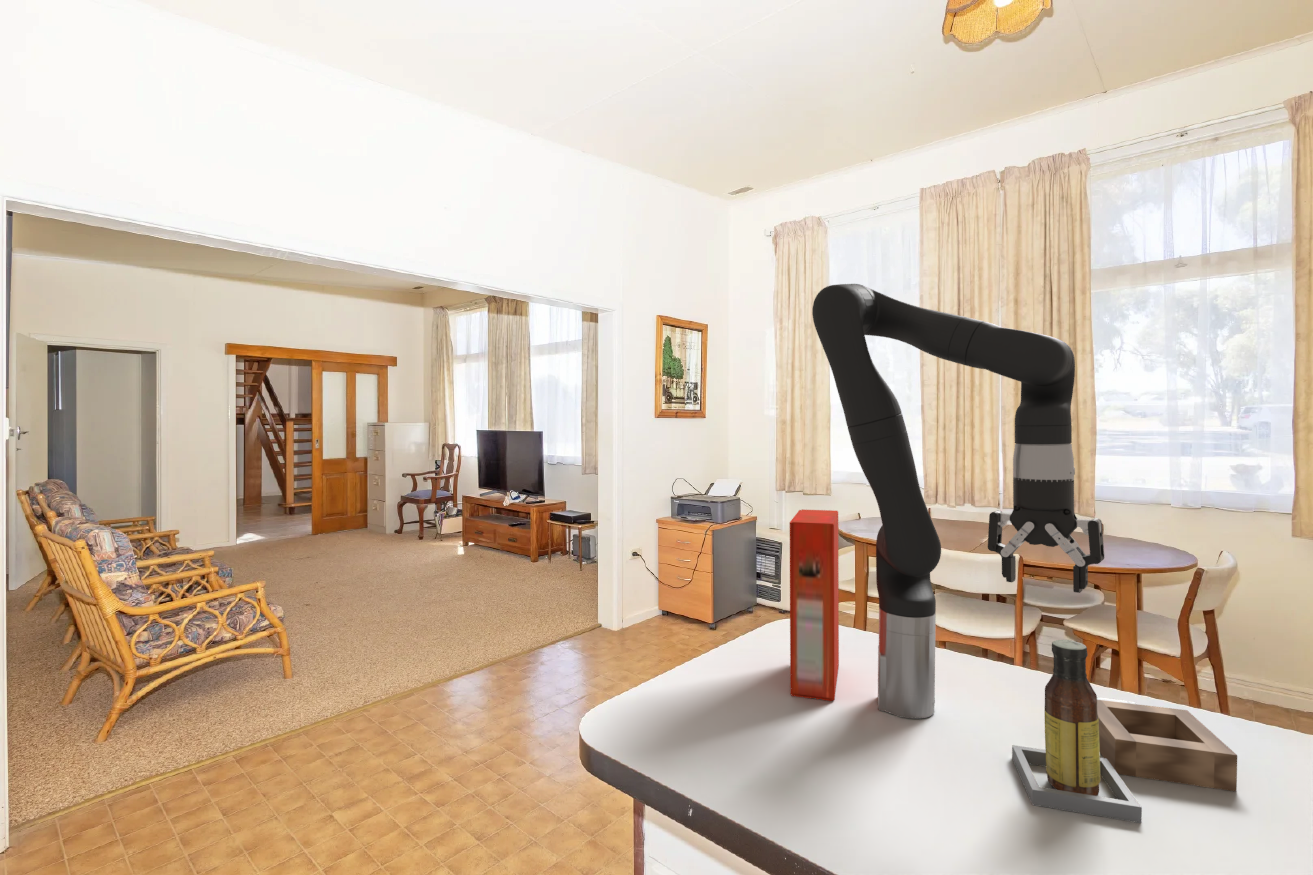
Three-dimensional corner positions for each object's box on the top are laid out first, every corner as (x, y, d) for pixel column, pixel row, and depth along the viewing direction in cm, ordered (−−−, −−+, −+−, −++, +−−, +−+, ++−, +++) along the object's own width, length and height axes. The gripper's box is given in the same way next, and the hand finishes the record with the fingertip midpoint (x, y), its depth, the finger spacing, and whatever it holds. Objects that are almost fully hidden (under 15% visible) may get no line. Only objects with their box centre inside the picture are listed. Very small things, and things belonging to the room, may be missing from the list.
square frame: (1032, 804, 83) (1032, 789, 82) (1012, 758, 94) (1012, 744, 94) (1141, 822, 79) (1141, 807, 79) (1106, 772, 90) (1106, 758, 90)
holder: (1114, 773, 90) (1115, 738, 90) (1082, 728, 103) (1083, 697, 103) (1236, 791, 85) (1237, 755, 85) (1186, 741, 99) (1187, 710, 99)
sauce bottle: (1094, 781, 88) (1097, 640, 87) (1105, 806, 82) (1107, 655, 82) (1040, 770, 91) (1042, 633, 90) (1046, 794, 85) (1048, 647, 84)
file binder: (788, 695, 115) (789, 521, 115) (798, 661, 132) (799, 509, 131) (834, 701, 113) (835, 523, 112) (838, 666, 129) (839, 510, 128)
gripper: (981, 474, 93) (982, 583, 94) (1096, 479, 83) (1097, 601, 84) (997, 470, 99) (998, 573, 99) (1107, 475, 89) (1108, 589, 89)
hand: (1043, 586), depth 92 cm, fingers open, 8 cm apart
